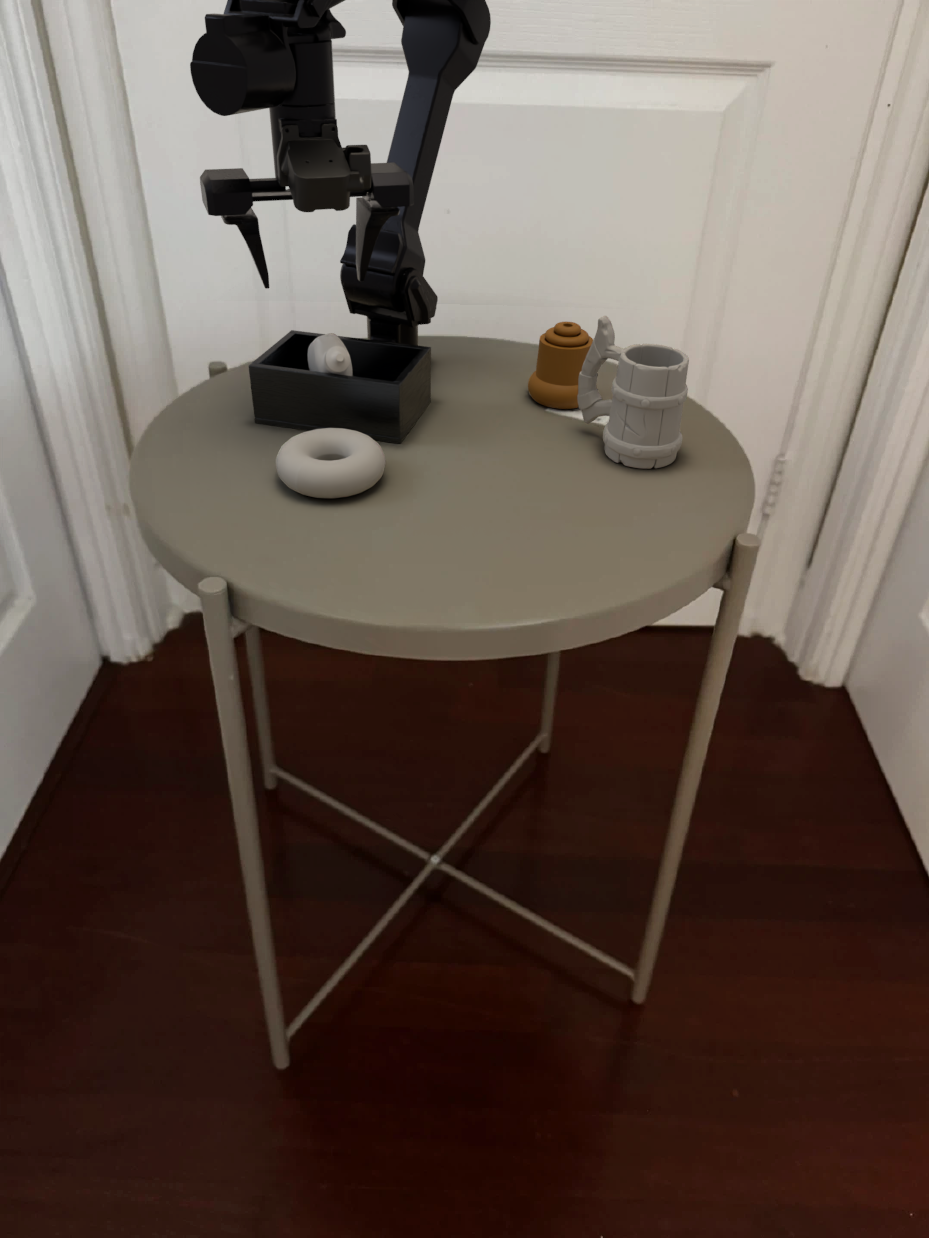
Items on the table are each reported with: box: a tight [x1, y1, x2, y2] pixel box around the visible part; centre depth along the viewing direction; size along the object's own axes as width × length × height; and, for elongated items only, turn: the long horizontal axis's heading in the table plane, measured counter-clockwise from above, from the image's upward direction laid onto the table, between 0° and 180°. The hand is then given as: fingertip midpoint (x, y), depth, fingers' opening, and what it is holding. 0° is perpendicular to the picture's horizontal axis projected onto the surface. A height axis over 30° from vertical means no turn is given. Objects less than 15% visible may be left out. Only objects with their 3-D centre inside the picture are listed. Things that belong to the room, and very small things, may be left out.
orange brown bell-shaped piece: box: [527, 321, 598, 410], centre depth 100 cm, size 8×8×8 cm
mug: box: [577, 315, 690, 470], centre depth 90 cm, size 8×12×12 cm, turn 48°
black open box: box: [248, 329, 432, 445], centre depth 96 cm, size 11×16×6 cm
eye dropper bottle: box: [308, 332, 353, 376], centre depth 94 cm, size 4×6×12 cm
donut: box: [274, 428, 387, 499], centre depth 86 cm, size 10×4×10 cm
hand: (314, 284), depth 91 cm, fingers open, 9 cm apart
